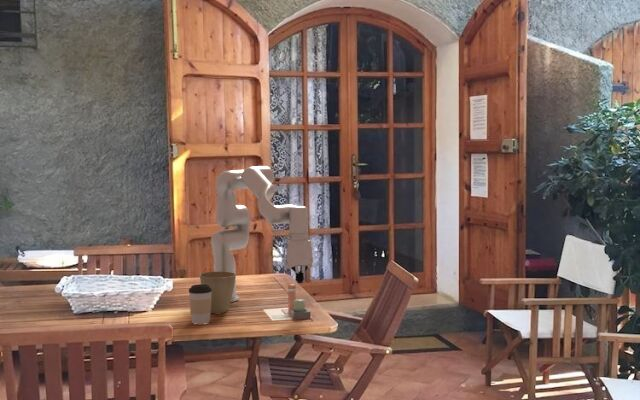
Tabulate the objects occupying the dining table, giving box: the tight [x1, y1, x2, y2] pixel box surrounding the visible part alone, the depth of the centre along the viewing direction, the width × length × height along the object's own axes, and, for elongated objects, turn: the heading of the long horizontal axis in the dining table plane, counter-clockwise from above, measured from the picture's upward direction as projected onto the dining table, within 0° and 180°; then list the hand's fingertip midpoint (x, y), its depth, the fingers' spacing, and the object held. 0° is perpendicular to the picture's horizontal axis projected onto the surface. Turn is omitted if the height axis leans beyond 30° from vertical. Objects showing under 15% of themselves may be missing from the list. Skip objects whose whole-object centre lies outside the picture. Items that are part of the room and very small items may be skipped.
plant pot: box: [199, 271, 237, 315], centre depth 310 cm, size 15×15×16 cm
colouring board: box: [263, 307, 313, 322], centre depth 304 cm, size 16×20×1 cm
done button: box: [294, 298, 306, 312], centre depth 299 cm, size 4×4×5 cm
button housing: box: [289, 307, 312, 320], centre depth 299 cm, size 7×7×2 cm
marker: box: [287, 283, 297, 312], centre depth 307 cm, size 3×3×11 cm
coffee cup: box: [188, 283, 212, 325], centre depth 293 cm, size 9×9×15 cm
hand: (299, 282), depth 298 cm, fingers closed
